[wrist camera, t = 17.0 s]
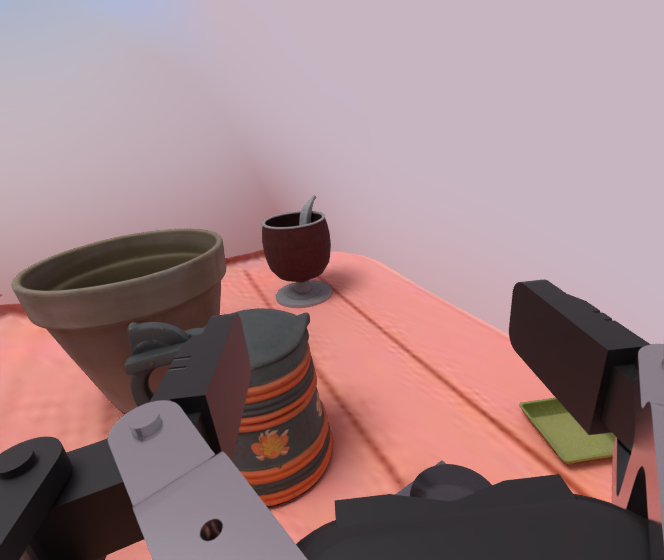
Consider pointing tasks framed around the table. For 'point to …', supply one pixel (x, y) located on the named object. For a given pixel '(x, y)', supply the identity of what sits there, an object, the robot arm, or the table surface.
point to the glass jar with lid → (447, 483)
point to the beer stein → (258, 399)
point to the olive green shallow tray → (567, 432)
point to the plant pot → (123, 298)
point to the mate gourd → (298, 255)
